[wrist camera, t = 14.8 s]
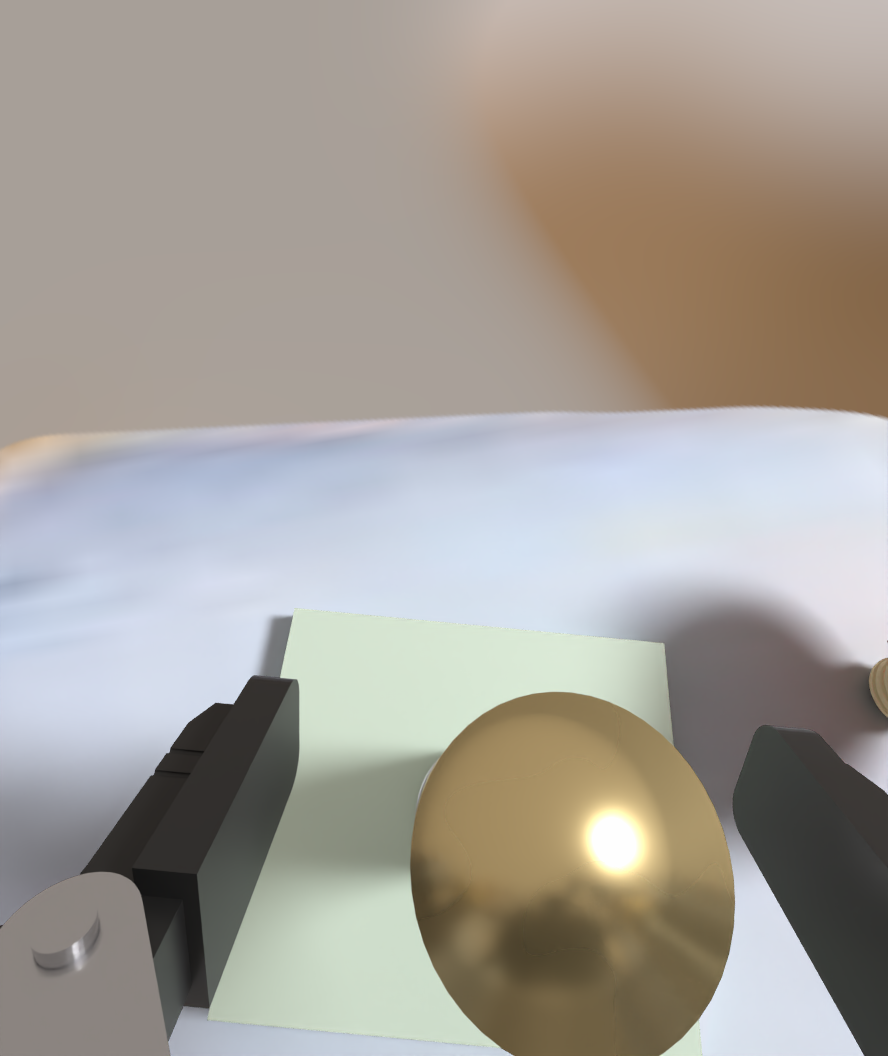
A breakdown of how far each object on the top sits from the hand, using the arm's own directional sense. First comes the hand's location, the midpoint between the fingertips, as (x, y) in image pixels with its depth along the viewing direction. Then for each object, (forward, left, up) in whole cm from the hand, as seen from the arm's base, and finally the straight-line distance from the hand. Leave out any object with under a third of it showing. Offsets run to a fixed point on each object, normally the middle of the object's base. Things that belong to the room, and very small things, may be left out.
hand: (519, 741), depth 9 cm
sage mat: (0, +1, -11) cm, 11 cm away
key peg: (0, +1, -10) cm, 10 cm away
